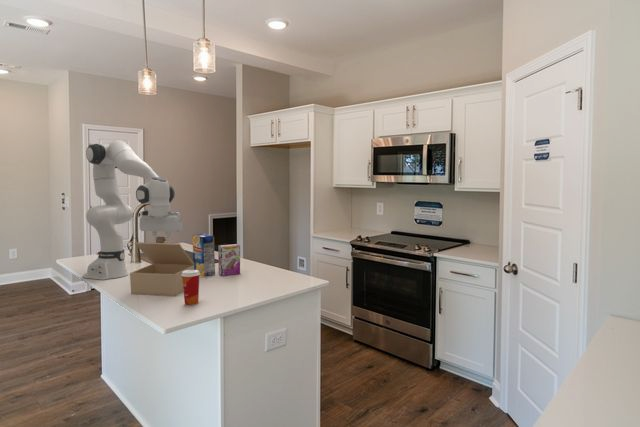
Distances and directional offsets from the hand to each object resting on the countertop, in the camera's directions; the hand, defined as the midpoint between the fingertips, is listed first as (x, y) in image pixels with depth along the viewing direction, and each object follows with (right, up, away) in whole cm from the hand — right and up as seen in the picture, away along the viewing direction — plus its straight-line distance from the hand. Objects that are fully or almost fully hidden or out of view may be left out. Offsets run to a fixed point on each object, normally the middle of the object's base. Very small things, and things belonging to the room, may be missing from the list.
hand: (161, 240), depth 199 cm
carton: (0, -24, +3) cm, 24 cm away
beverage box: (+11, -21, +33) cm, 40 cm away
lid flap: (0, -7, +4) cm, 8 cm away
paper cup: (+20, -26, -19) cm, 38 cm away
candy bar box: (+26, -21, +33) cm, 46 cm away
